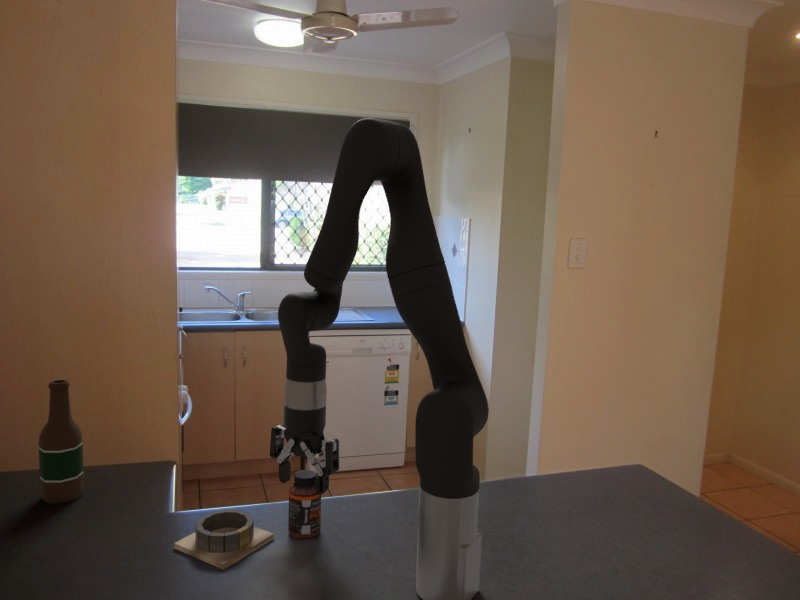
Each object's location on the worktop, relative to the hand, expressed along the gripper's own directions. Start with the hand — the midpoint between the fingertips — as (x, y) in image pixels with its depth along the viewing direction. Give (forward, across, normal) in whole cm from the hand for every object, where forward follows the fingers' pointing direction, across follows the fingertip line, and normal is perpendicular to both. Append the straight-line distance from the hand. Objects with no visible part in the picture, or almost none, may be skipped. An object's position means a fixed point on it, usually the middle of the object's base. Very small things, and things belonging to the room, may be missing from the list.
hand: (302, 487), depth 112 cm
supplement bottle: (+9, 0, 0) cm, 9 cm away
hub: (+9, +9, +11) cm, 16 cm away
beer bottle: (+10, +50, +16) cm, 53 cm away
